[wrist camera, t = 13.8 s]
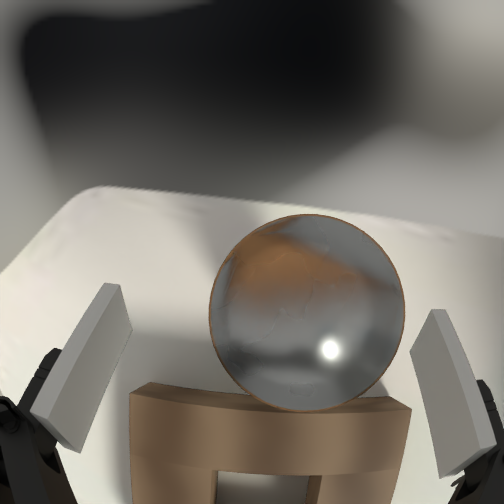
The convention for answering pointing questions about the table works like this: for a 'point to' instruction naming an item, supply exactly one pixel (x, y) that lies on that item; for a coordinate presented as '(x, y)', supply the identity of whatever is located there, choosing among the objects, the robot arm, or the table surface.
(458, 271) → the table surface
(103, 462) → the table surface
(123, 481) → the table surface
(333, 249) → the steel peg
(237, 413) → the pocket block
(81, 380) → the robot arm
